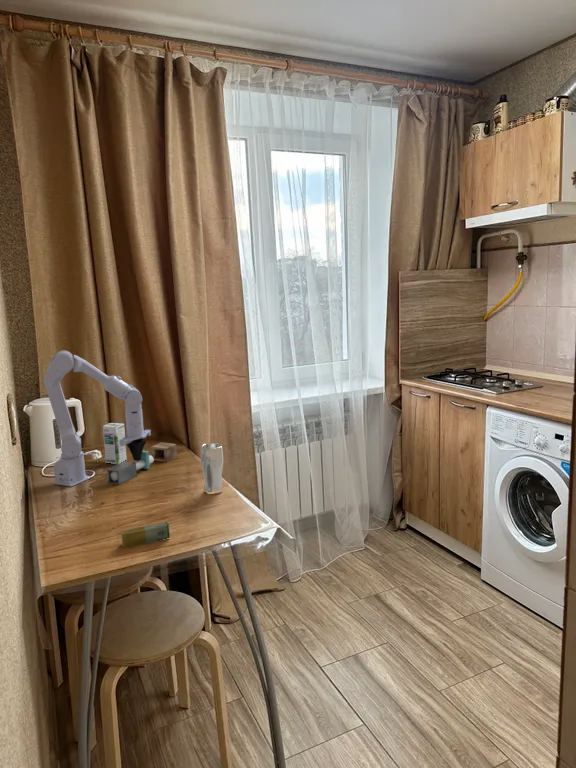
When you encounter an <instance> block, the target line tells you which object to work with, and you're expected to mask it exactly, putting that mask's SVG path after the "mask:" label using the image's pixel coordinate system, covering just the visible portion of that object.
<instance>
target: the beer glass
mask: <svg viewBox="0 0 576 768" xmlns="http://www.w3.org/2000/svg"><path fill="white" fill-rule="evenodd" d="M200 462H201V468H202V473H203V477H204V488H203V491H204V490H205V491H208V492H212V491H217V490H219V489H221V488H222V486H223V481H222V479H223V478H222V477H223V469H224V452H223V444H221V443H217V442H209V443H204V444H202V445H201V446H200Z"/></svg>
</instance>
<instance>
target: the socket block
mask: <svg viewBox="0 0 576 768" xmlns="http://www.w3.org/2000/svg"><path fill="white" fill-rule="evenodd" d="M150 449H151V456H152V457H153V458H154V461H158V462H164V463H165V462H166V463H169V462H170V461H172V460H174V459H176V458H178V453H177V444H176V443H171V442H169V443H168V442H161V441H160V442H158V443H157V444H154V445H152V446H151V448H150Z"/></svg>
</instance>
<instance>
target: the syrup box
mask: <svg viewBox="0 0 576 768" xmlns="http://www.w3.org/2000/svg"><path fill="white" fill-rule="evenodd" d="M102 430H103V431H102V433H103V444H104V454H105V455H104V458H105V464H106V463H111V465H117V464H120V463H121V462H123V461H125V460H126V461H127V460H128V457H127V445H126V446H120V442H119V440H121V439H123V438H124V437H125V436H126V432H125V423H116V422H110V423H107V424H105V425H103V426H102Z"/></svg>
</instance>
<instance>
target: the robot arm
mask: <svg viewBox="0 0 576 768" xmlns="http://www.w3.org/2000/svg"><path fill="white" fill-rule="evenodd" d="M72 370H73V373H81V372H82V373H84V374H85V375H87V376H89V377H91V378H93V379H94V380H95V381H98V382H99V383H101V384H103V388H104V389H103V390H105V391H107V392H108V393H110V395H113V396H114V397H116V398H117V399H119V400H123V401H124V403H125V404H124V405H125V427H126V434H125V437H124V438H123V439H121V440H119V442H120V446H126V447H127V448H128V450H129V451H130V452H131V456H132V458H133V461H134V462H136V461H139V460H141V456H142V451H144V447H145V444H146V443H147V439H145V438H147V437H150V436H151V435H152V433H151V432H152V431H151V429H145V430H144V417H143V408H142V407H143V406H142V402H143V399H144V398H143V397H142V393H141V392H140V390H138V389H137V387H135V386H133V385H132V384H129V383H127V382H126V381H124V380H122V377H121V376H119V375H117V376H116V375H107V374H106V373H105V372H103V371H102V370H101V369H98V368H97V367H95V365H93V364H91V363H90V362H89V361H87V360H85V359H84V358H82V357H80V356H79V355H76V354H72V353H71V352H70V351H68V350H67V349H66V350H64V349H63V350H59V351H58V352H56V353H55V354H54V356H53V357H52V358H51V360H50V362H49V365H48V367H47V370H46V372H45V374H44V376H43V382H44V386H45V389H46V393H47V396H48V399H49V402H50V405H51V409H52V411H53V412H52V413H53V416H54V418H55V421H56V426H57V428H58V431H59V436H60V441H61V448H60V451H61V453H60V458H59V459H58V460H57V461H55V463H54V466H53V467H54V477H55V481H54V482H53V484H54V485H59V486H66V487H71V488H72V487H74V486H76V485H79V484H81V483H82V482H85V481H88V480H90V479H91V478H90V477H92V476H91V475H87V474H86V464H85V454H84V451H82V450H83V449H82V447H83V446H82V438H81V436H80V435H79V434H78V433H77V432H76V428H75V426H74V424H73V420H72V418H71V414H70V410H69V408H68V405H67V401H66V398H65V395H64V392H63V391H64V390H63V389H62V384H61V381H62V380H63V379H64V377H65V376H66V375H67V374H68V373H69V372H70V371H72ZM88 477H89V478H88Z"/></svg>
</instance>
